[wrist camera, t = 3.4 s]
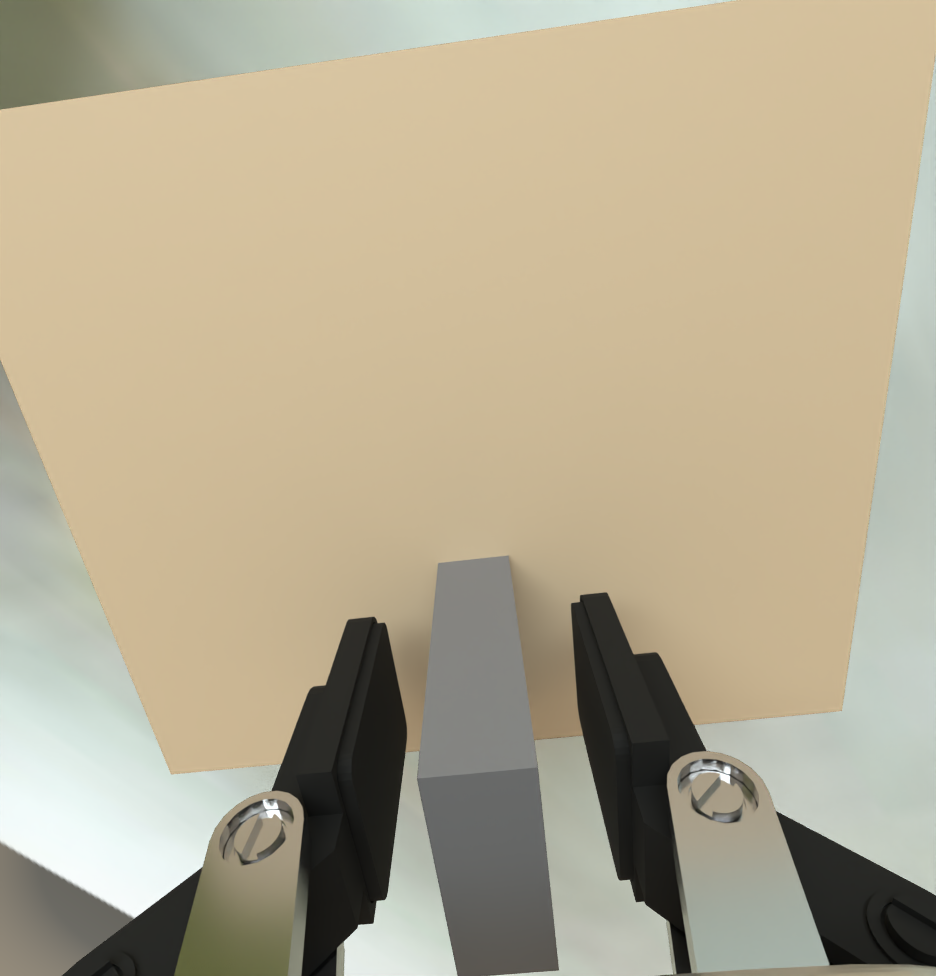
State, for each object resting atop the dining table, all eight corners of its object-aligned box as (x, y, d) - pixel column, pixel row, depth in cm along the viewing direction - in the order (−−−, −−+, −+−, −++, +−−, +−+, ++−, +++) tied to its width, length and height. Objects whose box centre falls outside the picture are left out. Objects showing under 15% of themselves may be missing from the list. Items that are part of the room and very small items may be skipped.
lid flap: (918, -14, 9) (1645, -455, 4) (827, 693, 14) (1063, 977, 9) (-66, 132, 10) (-778, -41, 4) (181, 755, 15) (8, 1055, 9)
